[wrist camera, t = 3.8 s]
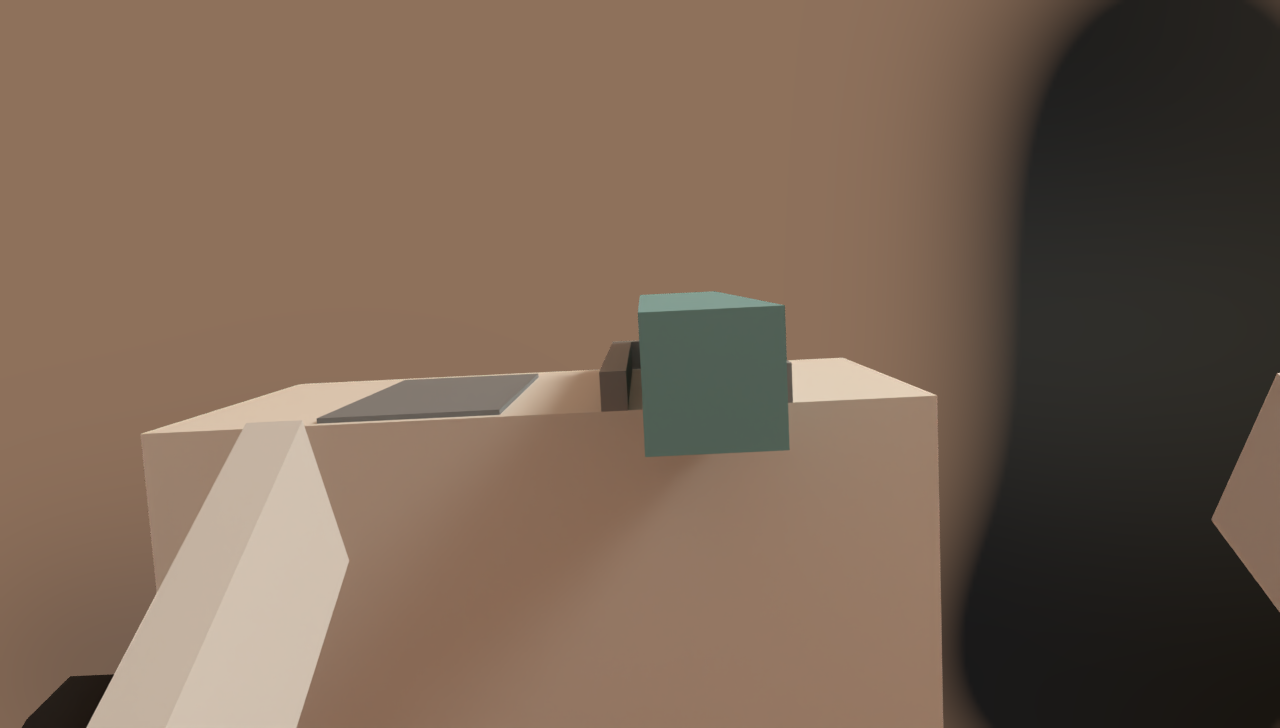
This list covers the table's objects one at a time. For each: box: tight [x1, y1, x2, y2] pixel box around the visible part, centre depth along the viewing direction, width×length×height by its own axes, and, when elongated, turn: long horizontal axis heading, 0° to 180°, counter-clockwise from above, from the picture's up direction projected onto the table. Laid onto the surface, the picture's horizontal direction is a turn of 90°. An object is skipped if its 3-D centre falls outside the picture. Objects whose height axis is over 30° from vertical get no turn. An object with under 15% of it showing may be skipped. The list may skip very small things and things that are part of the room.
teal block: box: [638, 291, 790, 457], centre depth 37 cm, size 24×4×4 cm, turn 0°
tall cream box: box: [141, 341, 943, 728], centre depth 44 cm, size 16×30×34 cm, turn 90°
